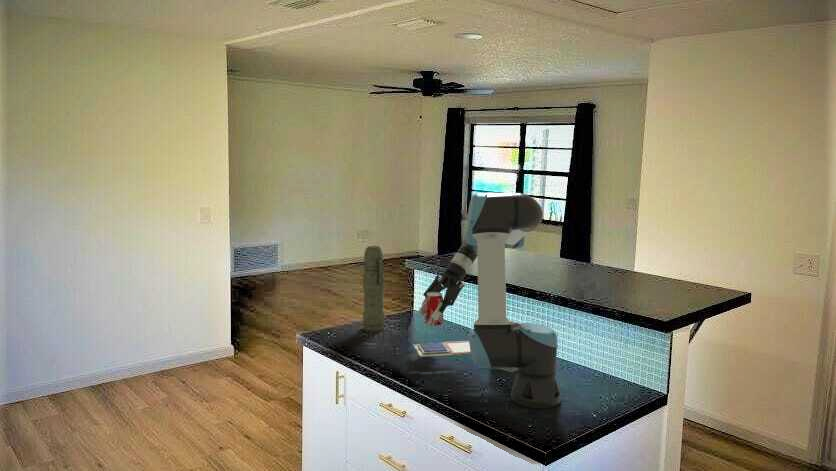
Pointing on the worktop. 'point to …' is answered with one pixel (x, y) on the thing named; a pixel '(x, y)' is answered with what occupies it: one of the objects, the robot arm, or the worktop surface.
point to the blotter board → (432, 354)
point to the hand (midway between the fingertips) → (427, 316)
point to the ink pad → (433, 348)
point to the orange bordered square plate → (458, 347)
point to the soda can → (433, 308)
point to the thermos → (373, 289)
